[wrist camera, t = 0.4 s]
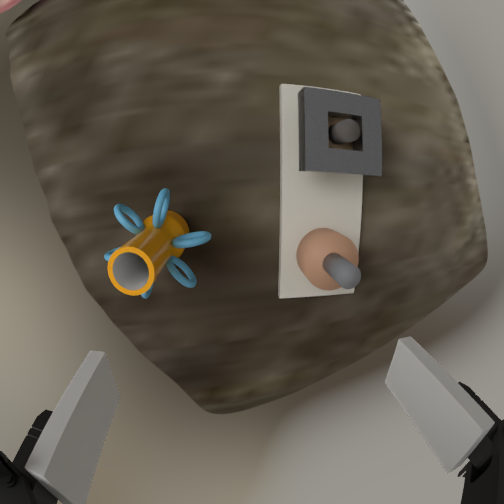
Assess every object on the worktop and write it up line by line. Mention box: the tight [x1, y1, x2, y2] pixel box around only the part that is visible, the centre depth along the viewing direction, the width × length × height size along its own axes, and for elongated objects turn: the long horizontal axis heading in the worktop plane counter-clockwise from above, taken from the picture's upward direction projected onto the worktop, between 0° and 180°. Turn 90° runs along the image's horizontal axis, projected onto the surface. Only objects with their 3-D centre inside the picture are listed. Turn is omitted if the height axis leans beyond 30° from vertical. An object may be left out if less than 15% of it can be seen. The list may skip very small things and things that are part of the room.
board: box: [278, 84, 363, 298], centre depth 34 cm, size 28×11×1 cm, turn 0°
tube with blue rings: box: [104, 188, 211, 298], centre depth 27 cm, size 12×10×15 cm
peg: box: [296, 228, 361, 290], centre depth 32 cm, size 7×7×9 cm
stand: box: [328, 117, 360, 150], centre depth 28 cm, size 6×6×8 cm
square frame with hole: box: [298, 87, 382, 176], centre depth 27 cm, size 9×9×2 cm
